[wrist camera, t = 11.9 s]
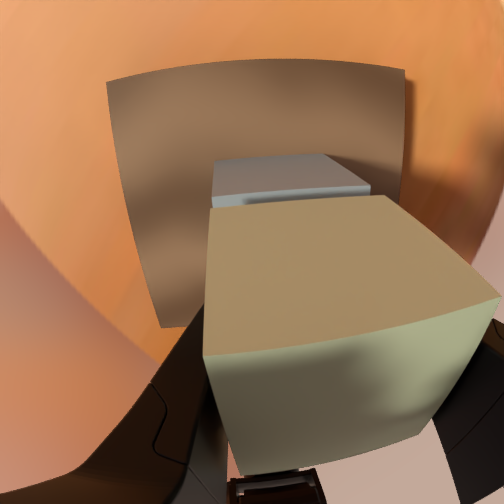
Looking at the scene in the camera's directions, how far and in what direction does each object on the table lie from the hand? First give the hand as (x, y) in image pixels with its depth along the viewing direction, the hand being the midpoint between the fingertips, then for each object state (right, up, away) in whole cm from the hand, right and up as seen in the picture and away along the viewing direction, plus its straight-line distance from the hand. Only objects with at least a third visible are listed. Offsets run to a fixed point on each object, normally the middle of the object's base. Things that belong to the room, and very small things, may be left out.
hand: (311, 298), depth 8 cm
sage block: (0, +1, +1) cm, 1 cm away
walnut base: (-1, +4, +8) cm, 9 cm away
